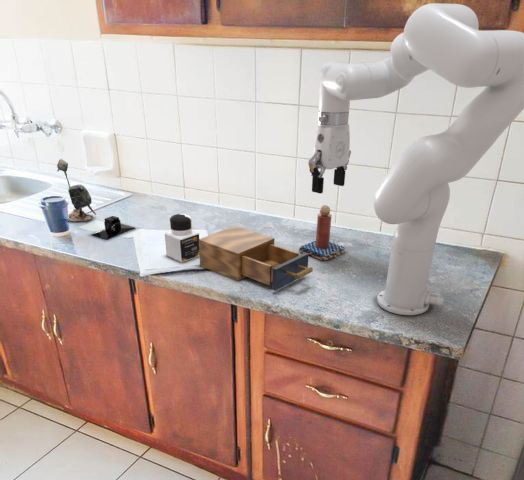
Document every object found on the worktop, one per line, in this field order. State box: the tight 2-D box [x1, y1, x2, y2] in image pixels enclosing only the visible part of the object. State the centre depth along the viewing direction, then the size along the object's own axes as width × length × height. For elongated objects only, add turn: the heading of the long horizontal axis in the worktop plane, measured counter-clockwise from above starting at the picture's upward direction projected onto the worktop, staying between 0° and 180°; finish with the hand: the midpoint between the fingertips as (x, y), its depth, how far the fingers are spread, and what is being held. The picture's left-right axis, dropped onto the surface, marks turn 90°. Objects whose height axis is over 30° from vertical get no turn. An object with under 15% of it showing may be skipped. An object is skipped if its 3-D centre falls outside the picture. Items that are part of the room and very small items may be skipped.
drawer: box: [240, 243, 314, 292], centre depth 136 cm, size 18×14×6 cm
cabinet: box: [198, 225, 275, 282], centre depth 144 cm, size 15×15×8 cm
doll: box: [315, 204, 332, 248], centre depth 150 cm, size 4×4×12 cm
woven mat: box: [298, 240, 346, 261], centre depth 154 cm, size 10×11×2 cm
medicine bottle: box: [164, 213, 200, 263], centre depth 147 cm, size 7×7×12 cm
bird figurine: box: [56, 158, 97, 222], centre depth 170 cm, size 8×11×20 cm
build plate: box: [91, 215, 136, 241], centre depth 165 cm, size 12×7×5 cm, turn 147°
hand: (328, 188), depth 137 cm, fingers open, 9 cm apart
